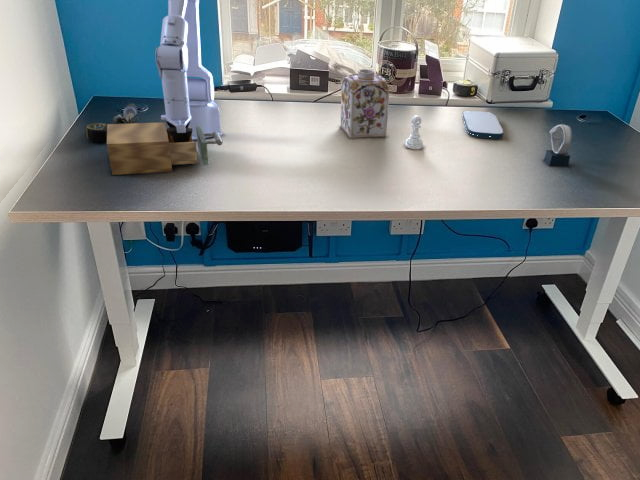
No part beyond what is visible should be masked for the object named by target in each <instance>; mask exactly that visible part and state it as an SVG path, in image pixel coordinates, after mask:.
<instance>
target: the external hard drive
mask: <svg viewBox="0 0 640 480" xmlns="http://www.w3.org/2000/svg"><path fill="white" fill-rule="evenodd" d="M462 114H463V118H464V121H465V124H464V121H463V118H462V117H461V119H462V122H463V124H464V127H465V125H466V127H465V132H466V133H467V135H469V136H470V137H474V138H482V139H495V140H496V139H497V140H498V139H502V138H503V137H504V133H505V132H504V130H503V127H502V126H501V123H500V121H499V120H498V117H497V116H496V114H494V113H492V112H488V111H476V110H463V111H462V113H461V115H462ZM466 128H467V130H466ZM467 131H468V132H469V133H468V132H467ZM470 133H471V134H470ZM472 134H474V135H472ZM477 135H478V136H477ZM489 136H491V137H489Z"/></svg>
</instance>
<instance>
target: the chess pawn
mask: <svg viewBox="0 0 640 480" xmlns="http://www.w3.org/2000/svg"><path fill="white" fill-rule="evenodd" d="M421 124H422V118H421V117H420V116H419V115H414V116H413V117H411V125H410V127H411V128H412V131H411V133H410V134H409V137H408V138H407V139H405V145H404V146H405V147H406V148H408V149H410V150H420V149H422V148H423V142H424V141H423V140H422V139H421V138H420V137H421V135H420V134H419V129H420V128H422V126H421Z"/></svg>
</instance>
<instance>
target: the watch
mask: <svg viewBox="0 0 640 480" xmlns="http://www.w3.org/2000/svg"><path fill="white" fill-rule="evenodd" d="M549 134H550V141H551V148H552V149H546V150H545V154H544V158H543V161H544V162H545V163H546V165H548V166H549V167H568V166H569V163H570V159H571V155H570V154H569V153H568V151H569V149H570V146H571V141H572V129H571V126H569V125H566V124H564V123H563V124H557V125H555V126H553V127H552V128H551V129H550V130H549ZM561 141H562V142H561ZM560 143H561V145H560Z"/></svg>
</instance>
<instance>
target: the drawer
mask: <svg viewBox="0 0 640 480" xmlns="http://www.w3.org/2000/svg"><path fill="white" fill-rule="evenodd" d="M168 128H169V127H166V130H167V135H168V140H169V146H170V155H171V163H172V166H173V165H174V166H176V165H190V164H192V165H194V164H198V153H197V149H198V152H199V155H200V158H201V162H202V165H203V166H208V165H209V155H208V145H217V146H221V145H223V140H222V138H221V135H219V133H218V132H217V131H215V132H213V133H204V134H203V131H202V128H201V126H200V125H196V134H197V140H196V141H193V140H192V134H191V142H179V143H171V137H170V133H169V131H168ZM188 128H191V127H188ZM213 135H214V136H213ZM204 136H213V138H214V140H206V138H205V137H204Z"/></svg>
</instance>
